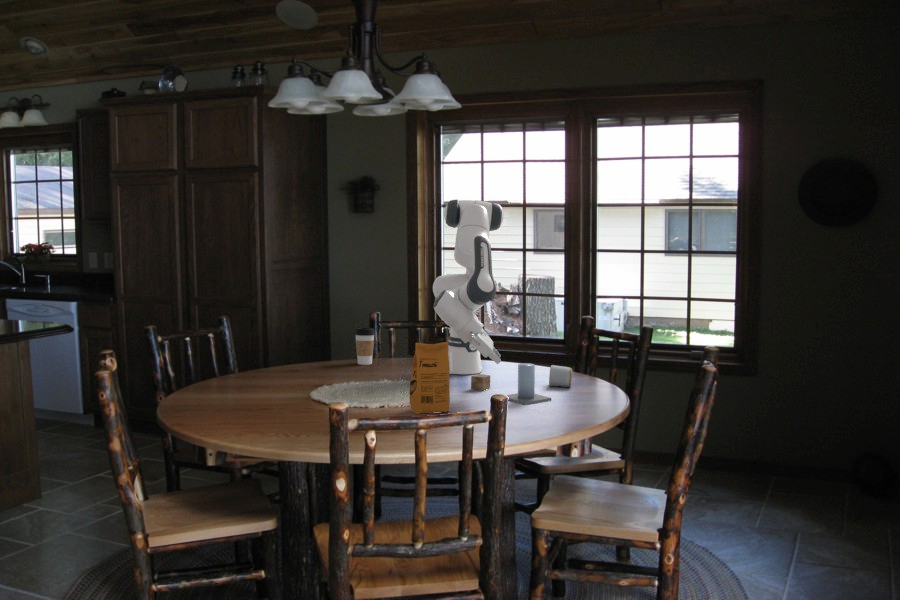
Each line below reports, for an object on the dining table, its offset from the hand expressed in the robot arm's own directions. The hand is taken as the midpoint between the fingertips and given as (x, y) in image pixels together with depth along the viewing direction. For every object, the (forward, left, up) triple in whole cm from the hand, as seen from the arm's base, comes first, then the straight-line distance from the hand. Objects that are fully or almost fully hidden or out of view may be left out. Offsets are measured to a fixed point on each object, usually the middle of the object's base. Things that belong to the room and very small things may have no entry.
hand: (499, 360), depth 286 cm
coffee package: (+1, -30, -13) cm, 33 cm away
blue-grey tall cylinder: (+6, +7, -12) cm, 16 cm away
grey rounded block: (-4, +33, -14) cm, 36 cm away
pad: (+6, +7, -13) cm, 16 cm away
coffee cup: (-84, -2, -13) cm, 85 cm away
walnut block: (-16, +5, -13) cm, 21 cm away
